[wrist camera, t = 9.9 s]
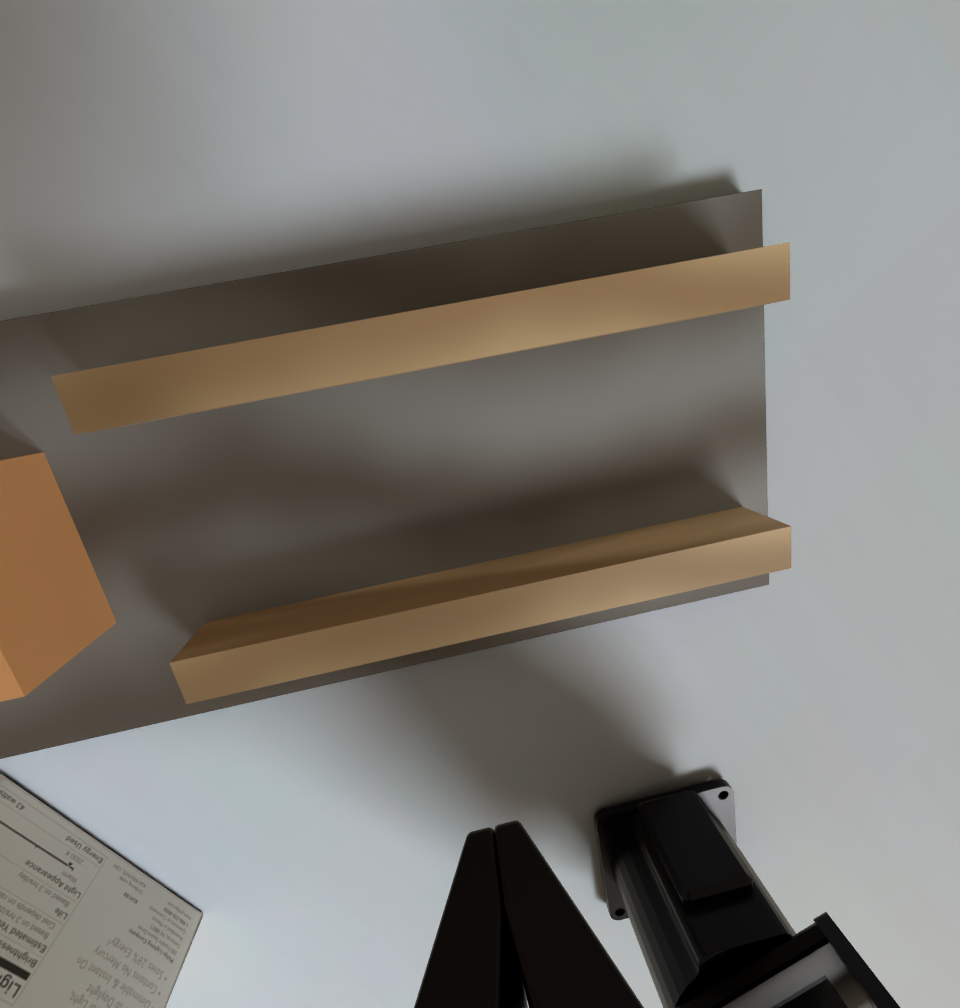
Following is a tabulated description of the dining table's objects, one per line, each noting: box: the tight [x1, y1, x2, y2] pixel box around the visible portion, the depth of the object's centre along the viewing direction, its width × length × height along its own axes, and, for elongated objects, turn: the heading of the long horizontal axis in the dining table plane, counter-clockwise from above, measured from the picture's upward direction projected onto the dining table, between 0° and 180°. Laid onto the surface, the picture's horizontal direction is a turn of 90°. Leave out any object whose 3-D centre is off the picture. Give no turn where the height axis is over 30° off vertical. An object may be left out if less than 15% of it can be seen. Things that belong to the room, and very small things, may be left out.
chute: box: [0, 189, 791, 759], centre depth 16 cm, size 14×33×3 cm, turn 100°
